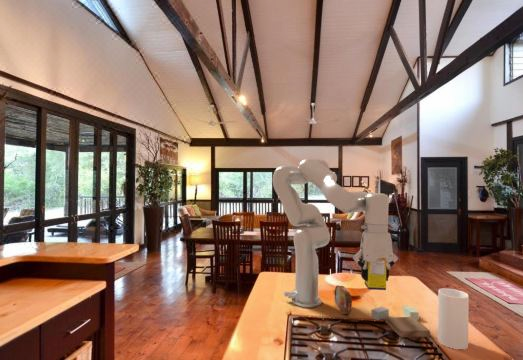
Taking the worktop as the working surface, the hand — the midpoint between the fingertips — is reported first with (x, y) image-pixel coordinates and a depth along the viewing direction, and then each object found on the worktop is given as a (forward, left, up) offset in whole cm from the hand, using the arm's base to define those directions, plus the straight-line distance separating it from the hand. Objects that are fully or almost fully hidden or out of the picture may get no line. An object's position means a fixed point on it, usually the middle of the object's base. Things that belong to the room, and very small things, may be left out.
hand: (374, 279), depth 106 cm
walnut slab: (+11, -1, -17) cm, 21 cm away
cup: (+21, -10, -17) cm, 29 cm away
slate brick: (+6, +9, -17) cm, 20 cm away
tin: (-6, +16, -17) cm, 24 cm away
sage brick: (+18, +9, -17) cm, 27 cm away
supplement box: (0, 0, -3) cm, 3 cm away
